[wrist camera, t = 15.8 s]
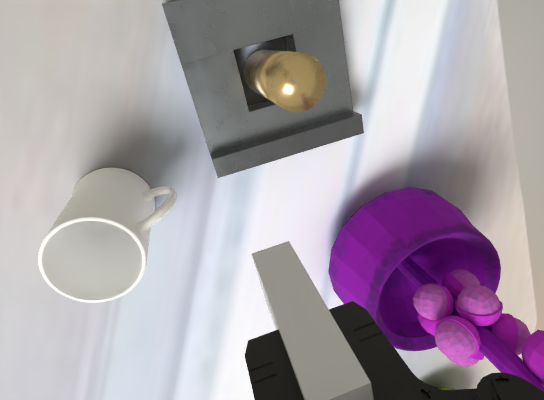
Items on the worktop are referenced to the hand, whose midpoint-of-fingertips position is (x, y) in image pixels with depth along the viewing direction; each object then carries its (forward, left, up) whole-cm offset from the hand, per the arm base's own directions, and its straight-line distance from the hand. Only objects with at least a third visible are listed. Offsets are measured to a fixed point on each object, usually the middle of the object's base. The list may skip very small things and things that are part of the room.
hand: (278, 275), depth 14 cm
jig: (-4, +7, -28) cm, 30 cm away
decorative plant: (+22, +18, -29) cm, 40 cm away
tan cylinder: (-4, +7, -28) cm, 30 cm away
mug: (+5, -11, -29) cm, 31 cm away
